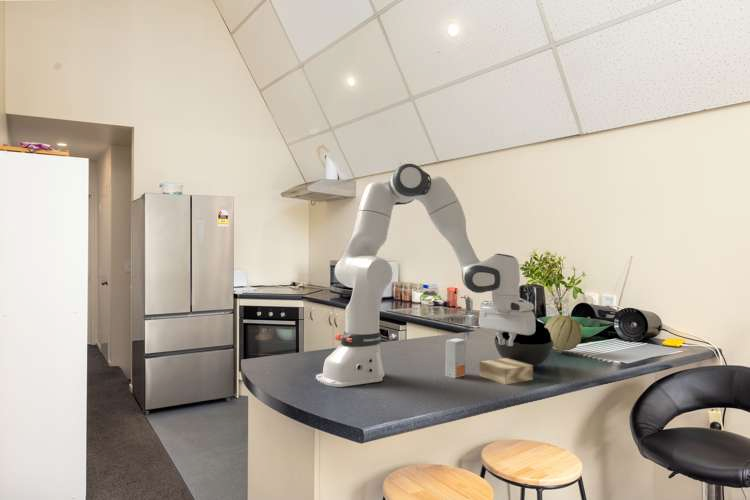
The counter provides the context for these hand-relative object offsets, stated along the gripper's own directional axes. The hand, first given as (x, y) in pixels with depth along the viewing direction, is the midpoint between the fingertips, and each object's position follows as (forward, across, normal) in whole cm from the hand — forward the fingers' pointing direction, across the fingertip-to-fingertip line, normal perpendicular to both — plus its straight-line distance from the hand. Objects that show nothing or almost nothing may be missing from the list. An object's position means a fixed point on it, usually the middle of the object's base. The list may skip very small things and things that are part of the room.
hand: (505, 345), depth 159 cm
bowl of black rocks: (+11, -4, +16) cm, 20 cm away
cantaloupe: (+11, -11, +54) cm, 56 cm away
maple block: (+11, 0, 0) cm, 11 cm away
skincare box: (+11, -12, -11) cm, 20 cm away
